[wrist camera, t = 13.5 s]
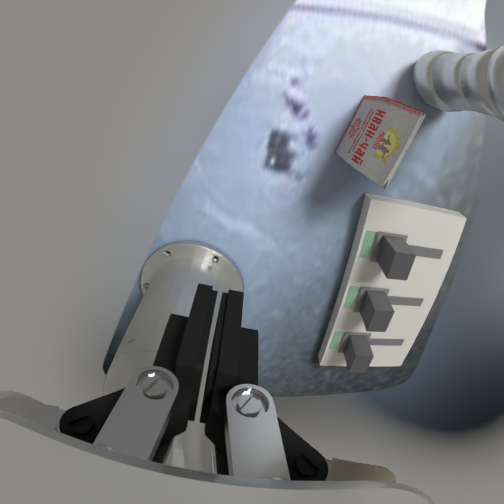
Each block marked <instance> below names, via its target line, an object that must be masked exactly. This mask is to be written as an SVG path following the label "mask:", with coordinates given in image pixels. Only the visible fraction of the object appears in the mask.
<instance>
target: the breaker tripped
mask: <svg viewBox="0 0 504 504" xmlns="http://www.w3.org/2000/svg"><path fill="white" fill-rule="evenodd" d="M407 238H408V236H407V235H402V234H395V233H389V232H382V231H379V232H378V235H377V238H376V242H375V245H374V249H373V252H372V255H371V258H370V262H378V264H379V266H380V268H381V269H382V271H383V273H384V275H385V276H386V278H387V279H396V280H406V281H407V279H408V276H409V273H410V271H411V268H412V265H413V263H414V260H415V257H416V254H415V253H414V251H413V250H412V249H411V248H410V246H409V245H408V244H407V243H406V241H407Z"/></svg>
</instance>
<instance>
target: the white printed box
mask: <svg viewBox="0 0 504 504" xmlns="http://www.w3.org/2000/svg"><path fill="white" fill-rule="evenodd" d="M422 113H423V111H420V110H417V109H414V108H412V107H409V106H407V105H404V104H402V103H399V102H397V101H394V100H392V99H389V98H386V97H377V96H364V97H363V99H362V101H361V103H360V105H359V107H358V109H357V111H356V113H355V115H354V117H353V119H352V121H351V122H350V124H349V126H348V128H347V130H346V132H345V134H344V136H343V138H342V140H341V141H340V143H339V145H338V147H337V149H336V151H335V152H336V153H337V154H338V155H339V156H340V157H341V158H342V159H344V160H345V161H346V162H347V163H348V164H349V165H351V166H352V167H353V168H355V169H356V170H358V171H359V172H361V173H362V174H363V175H365V176H366V177H368V178H369V179H370V180H372V181H373V182H375V183H376V184H377V185H378V186H380V187H381V188H382V187H383V188H384V189H386V188H387V186H388V184H389V182H390V181H391V179H392V177H393V175H394V174H395V172H396V170H397V168H398V167H399V165H400V163H401V161H402V159H403V157H404V156H405V154H406V152H407V150H408V148H409V146H410V145H411V143H412V141H413V139H414V137H415V135H416V133H417V131H418V129H419V128H420V126H421V124H422V122H423V120H424V118H425V116H426V114H423V115H422Z"/></svg>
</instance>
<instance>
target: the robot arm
mask: <svg viewBox="0 0 504 504" xmlns="http://www.w3.org/2000/svg"><path fill="white" fill-rule="evenodd" d="M168 251H169V252H168ZM215 256H217V257H215ZM140 283H141V290H142V293H143V298H142V300H141V302H140V304H139V306H138V308H137V310H136V312H135V314H134V316H133V318H132V320H131V322H130V324H129V327H128V329H127V331H126V333H125V335H124V337H123V339H122V341H121V344H120V346H119V348H118V350H117V352H116V355H115V357H114V359H113V361H112V363H111V366H110V368H109V370H108V372H107V375H106V378H105V383H104V396H102V397H100V398H97V399H94V400H92V401H89V402H86V403H83V404H81V405H78V406H75V407H72V408H71V409H69V410H67V411H65V410H60V409H59V407H57V406H51V405H46V404H44V403H42V402H40V401H38V400H36V399H34V398H32V397H30V396H27V395H25V394H22V393H19V392H14V391H0V504H434V503H433V502H432V500H431V498H430V497H429V496H428V495H427V494H426V493H424V492H423V491H421V490H419V489H417V488H414V487H412V486H408V485H405V484H401V483H396V478H395V476H394V474H393V473H392V472H391V471H390V470H389V469H387V468H385V467H382V466H376V465H369V464H363V463H358V462H352V461H346V460H342V459H337V458H333V459H332V460H329V459H325V458H324V457H323V456H322V455H321V454H320V453H319V452H318V451H317V450H315V449H314V448H313V447H312V446H310V445H309V444H308V443H307V442H306V441H304V440H303V439H302V438H301V437H300V436H299V435H297V434H296V433H295V432H294V431H293V430H292V429H290V428H289V427H288V426H287V425H286V424H285V423H284V422H282V421H281V420H280V419H279V418H278V417H277V415H276V411H275V405H274V402H273V399H272V397H271V395H270V394H269V393H268V392H267V391H266V390H264V389H263V388H261V387H259V386H258V330H253V329H247V328H242V327H241V321H242V308H243V297H244V284H243V279H242V276H241V274H240V271H239V269H238V268H237V266H236V265H235V263H234V262H233V261H232V260H231V259H230V258H229V257H228V256H227V255H226V254H224V253H223V252H221V251H220V250H219V249H217V248H215V247H213V246H210V245H208V244H205V243H201V242H197V241H188V240H186V241H176V242H172V243H168V244H166V245H164V246H162V247H160V248H158V249H157V250H156V251H155V252H153V253H152V255H151V256H150V257H149V258H148V260H147V262H146V263H145V265H144V267H143V270H142V273H141V282H140ZM212 443H213V461H214V473H213V470H212Z"/></svg>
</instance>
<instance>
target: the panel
mask: <svg viewBox="0 0 504 504" xmlns="http://www.w3.org/2000/svg"><path fill="white" fill-rule="evenodd" d="M466 219H467V218H465V217H464V216H463V215H462V214H460V213H459V212H456V211H452V210H448V209H443V208H439V207H434V206H430V205H425V204H420V203H415V202H411V201H406V200H401V199H395V198H390V197H385V196H380V195H374V194H368V193H365V197H364V201H363V205H362V210H361V214H360V218H359V222H358V226H357V229H356V233H355V237H354V241H353V245H352V248H351V252H350V255H349V259H348V263H347V266H346V270H345V273H344V276H343V280H342V283H341V287H340V290H339V293H338V296H337V300H336V303H335V306H334V309H333V312H332V315H331V318H330V321H329V324H328V327H327V330H326V333H325V336H324V339H323V342H322V345H321V348H320V351H319V354H318V359H319V364H320V365H322V366H347V365H346V361H345V357H344V353H338V350H339V348H340V345H341V343H342V340H343V338H344V335H345V332H358V333H371V336H370V339H369V344H370V347H371V350H372V352H373V355H374V357H373V359H372V361H371V363H370V365H369V366H401V364H402V362H403V361H404V359H405V357H406V355H407V354H408V352H409V350H410V348H411V346H412V344H413V342H414V341H415V339H416V337H417V335H418V333H419V331H420V329H421V327H422V325H423V323H424V321H425V319H426V317H427V315H428V313H429V311H430V309H431V307H432V304H433V302H434V300H435V298H436V296H437V293H438V291H439V289H440V287H441V284H442V282H443V280H444V277H445V275H446V273H447V270H448V268H449V265H450V263H451V260H452V258H453V255H454V252H455V250H456V247H457V245H458V242H459V239H460V236H461V233H462V231H463V228H464V225H465V222H466ZM379 231H382V232H389V233H395V234H402V235H407V236H408V238H407V241H406V243H407V244H408V245H409V246H410V248H411V249H412V250H413V251H414V253H415V254H416V257H415V260H414V263H413V265H412V268H411V271H410V273H409V276H408V279H407V281H406V280H396V279H387V278H386V276H385V275H384V273H383V271H382V269H381V268H380V266H379V264H378V262H370V258H371V255H372V252H373V249H374V245H375V242H376V238H377V235H378V232H379ZM362 286H363V287H374V288H386V289H390V290H389V293H388V295H387V297H388V299H389V301H390V303H391V305H392V307H393V309H394V311H395V312H394V314H393V316H392V319H391V321H390V323H389V325H388V328H387V330H386V332H369V331H366V328H365V325H364V322H363V320H362V317H361V314H360V312H354V308H355V305H356V302H357V299H358V297H359V294H360V291H361V288H362Z"/></svg>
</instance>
